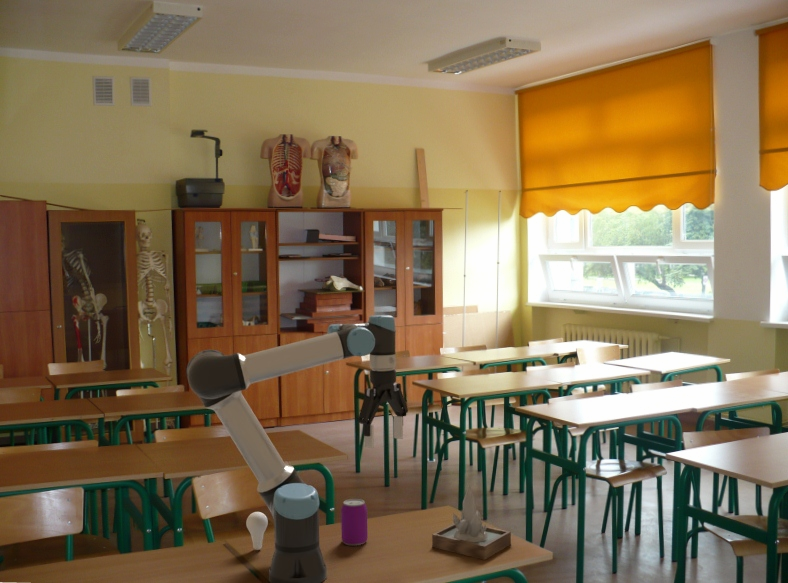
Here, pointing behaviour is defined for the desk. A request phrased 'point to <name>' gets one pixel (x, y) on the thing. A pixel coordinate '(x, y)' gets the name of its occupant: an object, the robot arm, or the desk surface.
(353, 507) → the beverage can
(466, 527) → the crystal
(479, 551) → the wooden tray
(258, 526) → the lightbulb
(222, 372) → the robot arm
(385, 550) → the desk surface
